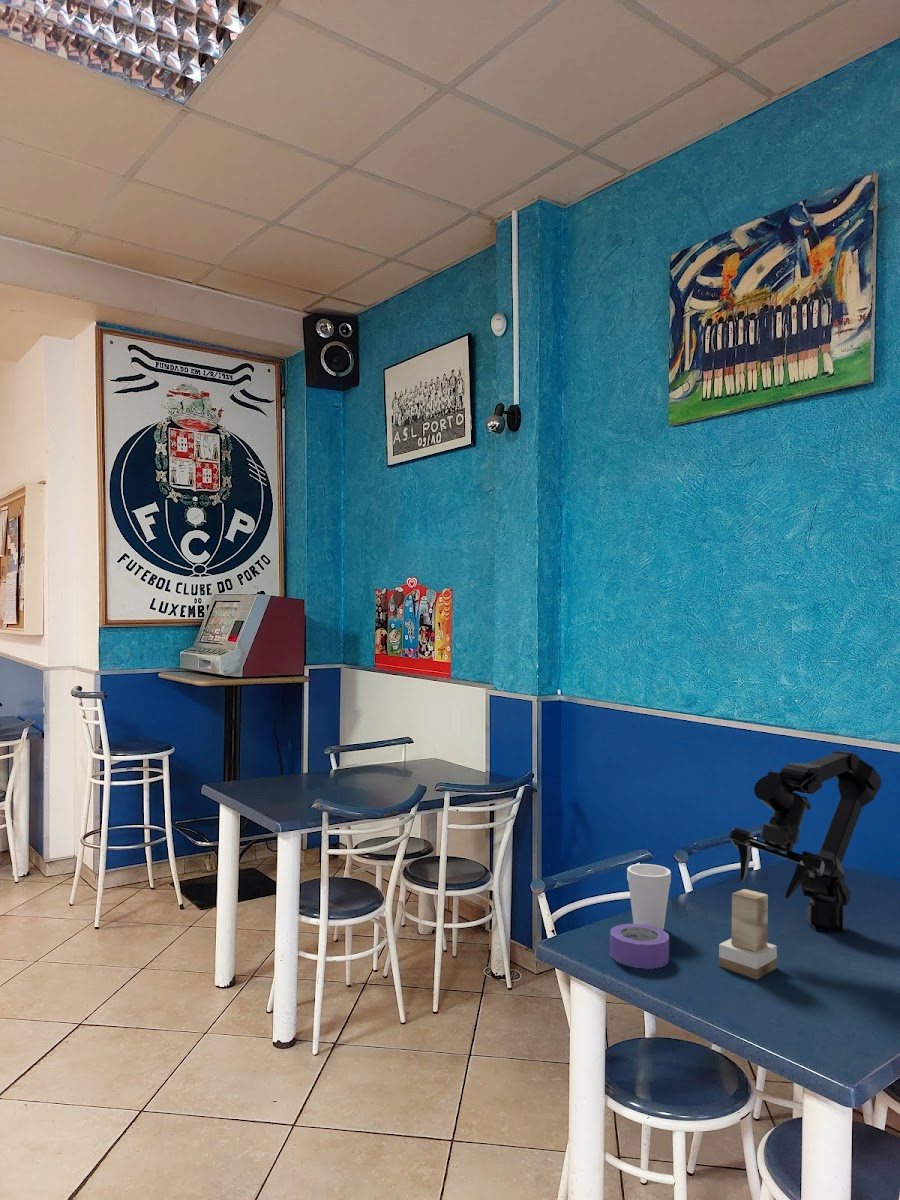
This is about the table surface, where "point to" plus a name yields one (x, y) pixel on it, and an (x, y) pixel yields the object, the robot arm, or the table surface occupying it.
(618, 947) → the tape roll
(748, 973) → the walnut slab
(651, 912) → the foam cup
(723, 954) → the cream slab
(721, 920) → the table surface
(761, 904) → the beech pillar
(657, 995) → the table surface
